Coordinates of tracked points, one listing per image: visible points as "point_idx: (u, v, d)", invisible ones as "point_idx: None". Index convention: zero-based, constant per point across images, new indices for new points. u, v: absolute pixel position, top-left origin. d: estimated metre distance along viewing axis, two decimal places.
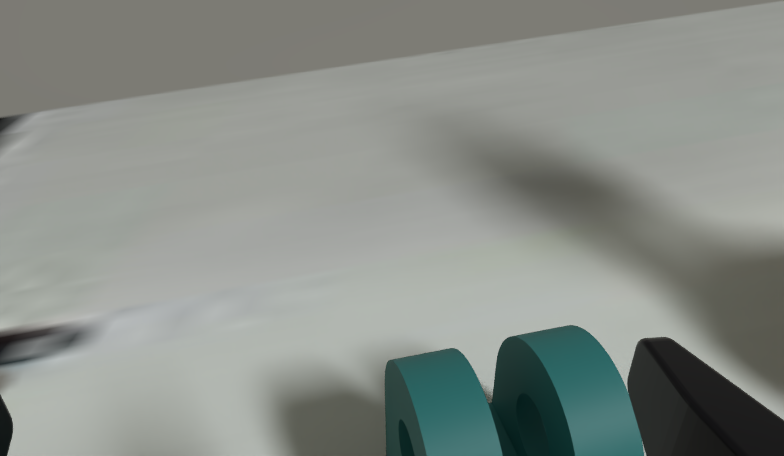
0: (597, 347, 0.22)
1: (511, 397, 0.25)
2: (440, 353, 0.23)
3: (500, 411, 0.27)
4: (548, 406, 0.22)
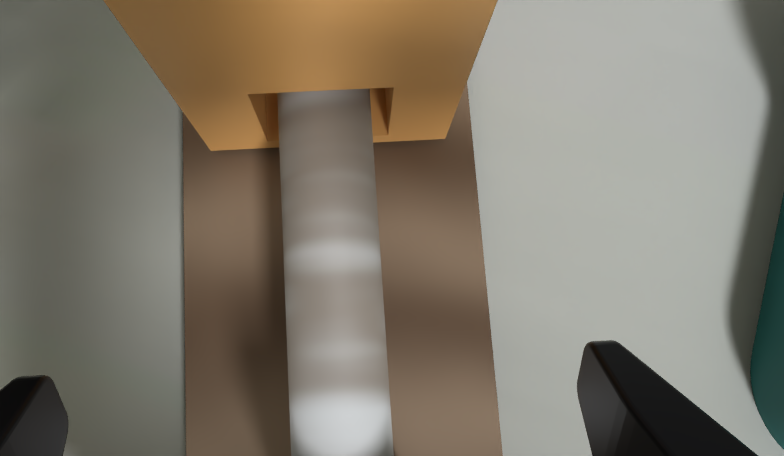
0: None
1: None
2: None
3: None
4: None
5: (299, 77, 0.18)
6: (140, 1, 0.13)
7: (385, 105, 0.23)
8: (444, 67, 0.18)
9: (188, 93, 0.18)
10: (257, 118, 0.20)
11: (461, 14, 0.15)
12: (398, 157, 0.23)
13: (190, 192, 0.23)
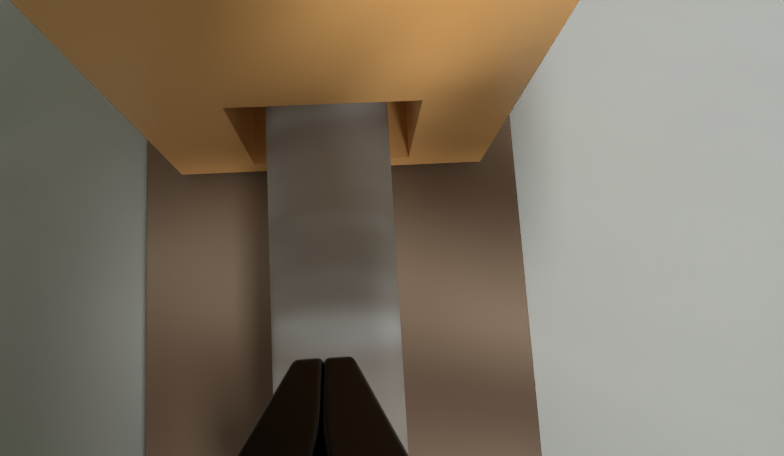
0: None
1: None
2: None
3: None
4: None
5: (293, 87, 0.13)
6: None
7: (405, 119, 0.18)
8: (495, 74, 0.13)
9: (140, 107, 0.13)
10: (239, 137, 0.15)
11: None
12: (420, 184, 0.18)
13: (155, 227, 0.18)
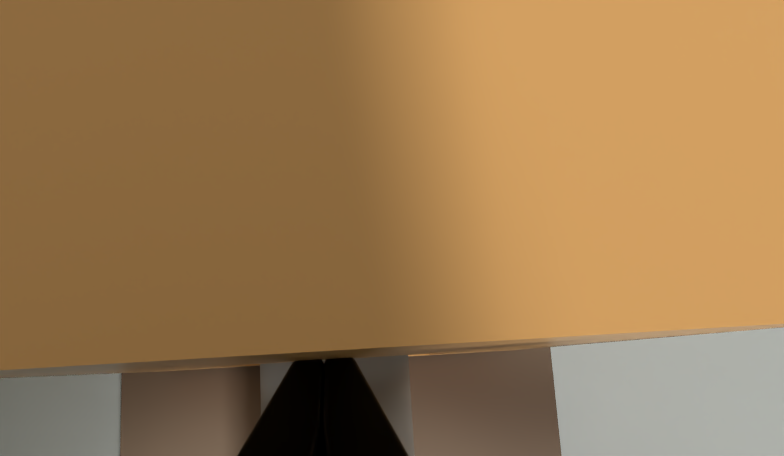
0: None
1: None
2: None
3: None
4: None
5: (292, 361, 0.10)
6: None
7: None
8: None
9: (100, 373, 0.10)
10: (226, 365, 0.13)
11: (621, 339, 0.07)
12: (443, 396, 0.16)
13: (130, 455, 0.15)
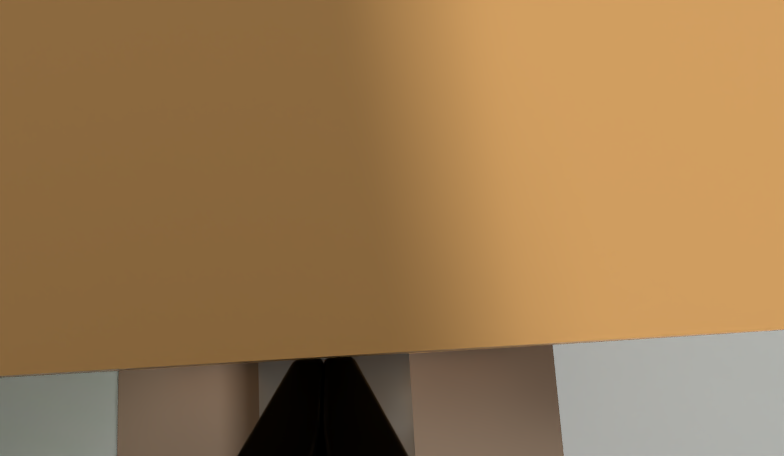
0: None
1: None
2: None
3: None
4: None
5: None
6: None
7: None
8: (552, 344, 0.10)
9: None
10: (224, 363, 0.12)
11: (629, 339, 0.07)
12: None
13: None
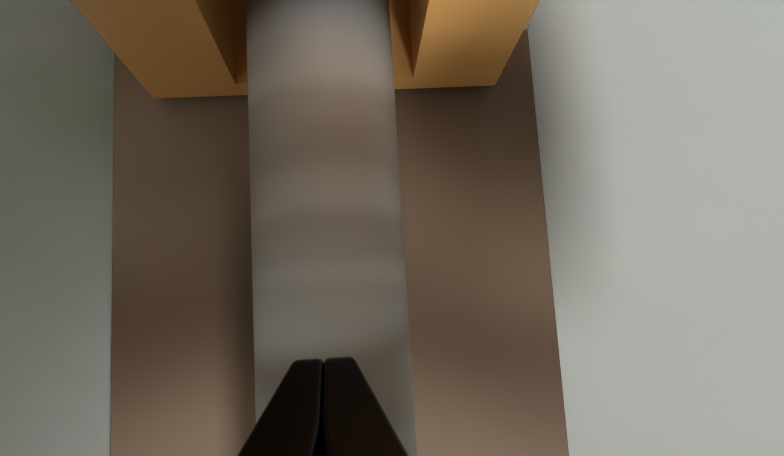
0: None
1: None
2: None
3: None
4: None
5: None
6: None
7: (409, 33, 0.15)
8: None
9: None
10: (214, 41, 0.13)
11: None
12: (444, 365, 0.15)
13: (121, 425, 0.15)
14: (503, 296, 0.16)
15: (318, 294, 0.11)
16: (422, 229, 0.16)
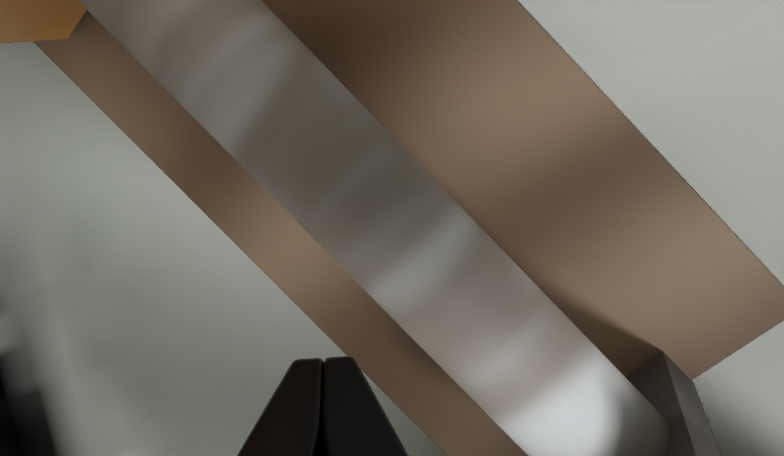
0: None
1: None
2: None
3: None
4: None
5: None
6: None
7: None
8: None
9: None
10: None
11: None
12: (397, 40, 0.17)
13: (247, 245, 0.19)
14: None
15: (212, 90, 0.13)
16: None
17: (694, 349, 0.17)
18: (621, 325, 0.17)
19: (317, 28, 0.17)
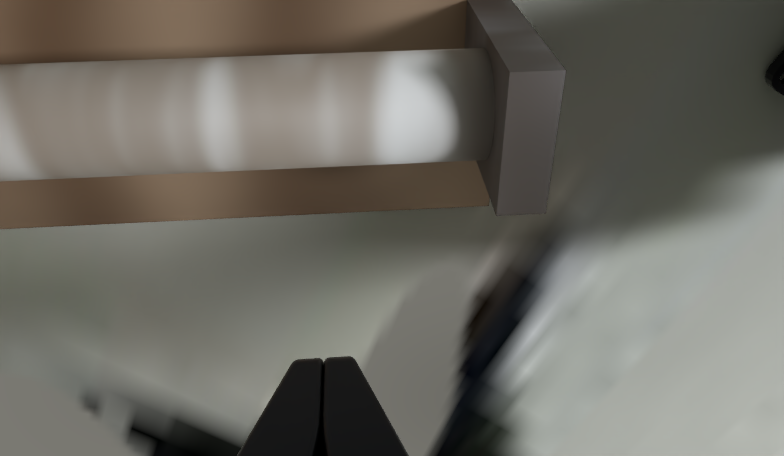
0: None
1: None
2: None
3: None
4: None
5: None
6: None
7: None
8: None
9: None
10: None
11: None
12: None
13: (162, 215, 0.22)
14: None
15: None
16: None
17: None
18: (424, 12, 0.19)
19: (25, 37, 0.18)
